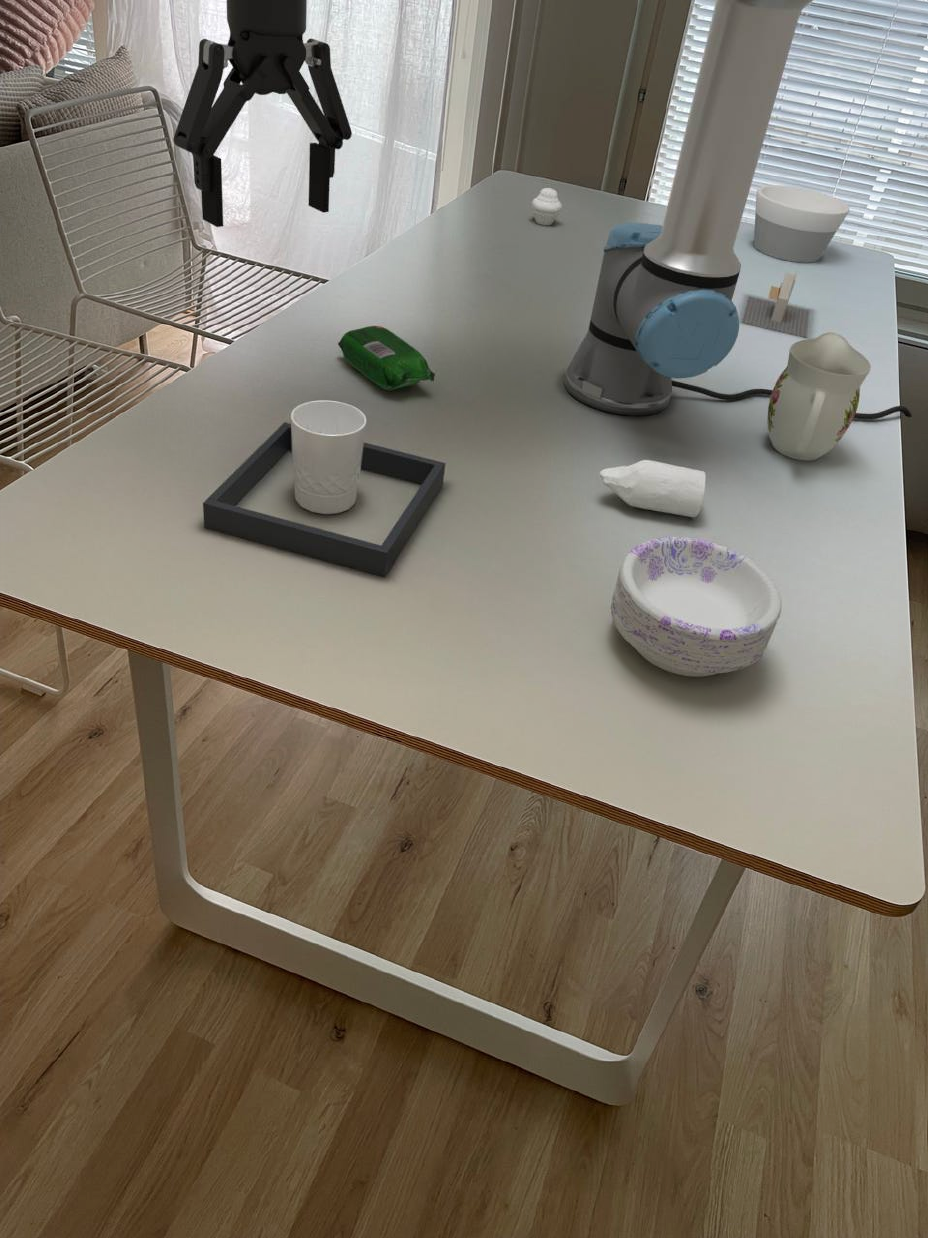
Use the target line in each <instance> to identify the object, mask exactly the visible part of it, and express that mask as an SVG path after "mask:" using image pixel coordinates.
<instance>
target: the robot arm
mask: <svg viewBox="0 0 928 1238" xmlns="http://www.w3.org/2000/svg"><path fill="white" fill-rule="evenodd" d="M307 1H308V0H226V21H227V22H226V23H227V25H228V28H229V29H228V30H229V37H228V41H227V44H225V43H218V42H215V41H214V40H213V41H212V40H209V39H207V38H202V39H201V40H200V41H199V44H198V64H197V68H196V71H195V73H194V77H193V79H192V81H191V82H192V83H191V86H190V88H189V91H188V94H187V97H186V100H185V103H184V106H183V109H182V112H181V115H180V117H179V121H178V123H177V126H176V130H175V132H174V135H173V139H172V140H173V143H174V145H175V147H178V148H180V149H182V150H184V151H186V152H189V153H191V155H192V159H193V161H192V162H193V163H192V164H193V181H194V185H195V188H196V189H198V190H200V191H201V192H200V193H201V212H202V213H201V214H202V220H203V221H205V222H207V223H208V224H210V225H212V226H214V227H216V228H221V227H222V228H223V227H224V206H223V204H224V203H223V201H224V200H223V174H222V173H223V170H222V169H223V168H222V158H220V157H219V156H217V155H215V153H216V152H217V149H218V148H219V147H220V145H221V143H222V142H223V141H224V139H225V137H226V135H227V134H228V132H229V130H230V129H231V128H232V126H233V124H234V122H235V121H236V119H237V118H238V116H239V114H240V112H241V111H242V109H243V108H244V106H245V105H246V103H247V102H249V101H251V100H252V99H253V98H254V96H255V94H257V95H259V96H267V95H270V94H272V93H275V94H278V95H286V94H287V96H288V98H289V99H290V100H291V102H292V104H293V105H294V106H295V108H296V110H297V112H298V113H299V114H300V116H301V117H302V119H303V121H304V122H305V124H306V125H307V127H308V128H309V130H310V131H311V133H312V134H313V136H314V138H315V140H316V141H317V142H318V143H317V142H309V158H308V159H309V161H308V162H309V165H308V207H311V208H312V209H315V210H317V211H319V212H321V213H323V214H324V213H329V212H330V182H331V178H334V176H335V170H336V167H335V166H336V165H335V164H336V150H340V149H342V147H343V146H344V145H343V144H344V140H345V141H349V140H350V139H351V137H352V133H353V132H352V128H351V126H350V125H351V124H350V122H349V119H348V116H347V112H346V109H345V107H344V104H343V100H342V98H341V97H342V96H341V95H340V92H339V88H338V85H337V81H336V79H335V76H334V72H333V70H332V62H331V59H332V58H331V48H330V45H329V43H326V42H324V41H320V40H317V39H314V38H308V40H306V42H304V39H303V38H304V37H303V36H304V34H305V33H306V31H307V12H308V11H307V5H308V4H307ZM812 2H814V0H715V2H714V3H715V4H714V6H713V7H714V8H713V12H712V16H711V21H710V25H709V28H708V32H707V37H706V42H705V44H704V45H705V46H704V49H703V50H704V51H703V54H702V58H701V63H700V67H699V71H698V75H697V80H696V84H695V88H694V93H693V97H692V101H691V105H690V109H689V113H688V118H687V121H686V125H685V131H684V134H683V139H682V143H681V147H680V151H679V155H678V159H677V164H676V168H675V173H674V175H673V181H672V185H671V188H670V193H669V196H668V197H669V198H668V202H667V205H666V211H665V216H664V220H663V223H662V225H661V224H654V223H647V222H646V223H645V222H643V223H642V222H622V223H618V224H616V225H614V226H613V227H612V228H611V230H610V231H609V234H608V237H607V241H606V244H605V246H604V247H603V258H602V262H601V267H600V272H599V275H598V276H599V278H598V280H597V281H598V282H597V287H596V292H595V295H594V299H593V300H594V301H593V306H592V311H591V315H590V321H589V325H588V330H587V332H586V335H585V336H584V338H583V339H582V341H581V343H580V345H579V347H578V349H577V351H576V352H575V353H574V355H573V357H572V359H571V361H570V363H569V364H568V366H567V368H566V372H565V376H564V377H565V378H564V387H565V389H566V390H567V392H568V393H569V394H570V395H571V396H572V397H573V398H575V399H576V400H578V401H579V402H581V403H583V404H585V405H587V406H589V407H592V408H595V409H597V410H600V411H604V412H607V413H612V414H616V415H624V416H647V415H653V414H657V413H659V412H661V411H663V410H665V409H666V408H667V407H668V405H669V403H670V399H671V396H672V393H673V387H674V388H678V389H683V390H687V391H690V392H695V393H698V394H702V395H705V396H708V397H711V398H713V399H718V400H723V401H736V400H737V401H738V400H741V399H744V398H747V397H751V396H755V395H764V396H770V397H771V394H772V391H773V389H767V388H751V389H747V390H744V391H741V392H737V393H730V394H729V393H720V392H716V391H713V390H710V389H707V388H705V387H701V386H697V385H694V384H689V383H686V382H681V381H677V380H673V379H689V378H694V377H697V376H700V375H702V374H705V373H706V372H708V370H710V369H712V368H713V367H716V366H718V365H719V364H720V363H721V362H722V361H724V359H725V358H726V357H727V356H728V355H729V354H730V352H731V351H732V349H733V348H734V345H735V344H736V342H737V339H738V336H739V332H740V318H739V314H738V313H739V312H738V310H737V307H736V306H735V303H734V302H733V297H734V294H735V291H736V288H737V283H738V280H739V278H740V273H741V269H742V263H741V261H740V260H739V258H738V256H737V255H736V253H735V251H734V246H735V243H736V239H737V236H738V233H739V229H740V226H741V222H742V218H743V215H744V211H745V208H746V204H747V201H748V197H749V194H750V190H751V186H752V183H753V179H754V177H755V172H756V169H757V167H758V164H759V163H758V162H759V159H760V155H761V152H762V148H763V145H764V141H765V137H766V134H767V131H768V127H769V123H770V120H771V117H772V113H773V109H774V107H775V103H776V99H777V96H778V92H779V89H780V85H781V81H782V78H783V74H784V71H785V67H786V65H787V60H788V57H789V53H790V50H791V48H792V47H791V46H792V44H793V39H794V36H795V33H796V29H797V26H798V23H799V18H800V15H801V13H802V12H803V10H804V9H805V8H806V7H807V6H809V4H811V3H812ZM229 63H230V65H231V67H232V68H231V70H230V71H229V73H228V75H227V76H226V77H225V79H224V80H223V84H222V85H223V88H222V90H221V92H220V93H219V95H218V97H217V94H218V90H219V88H220V85H221V82H222V78H223V74H224V69H226V68H228V67H229ZM304 63H305V64H306V65H307V68H308V72H309V75H310V78H311V81H312V84H313V87H314V90H315V93H316V96H317V99H318V102H319V104H318V103H317V101H316V99H315V98H314V96H313V95H312V93H311V92H310V86H309V85H308V83H307V81H306V79H305V78H304V76H303V75H302V73H301V71H300V70H301V69H302V67H303V65H304ZM216 97H217V98H216ZM215 99H216V100H215ZM319 105H320V106H319ZM320 107H321V108H320ZM898 412H901V413H903V415H904V416H905V417H906V418H912V417H913V415H912V412H911V411H910V409H908V408H907V407H906V406H903V405H896V406H893V407H890V408H888V409H885V410H882V411H879V412H874V413H864V412H863V413H862V412H861V413H860V412H859V413H858V412H856V414H855V416H854V418H853V420H854V419H855V420H878V419H882V418H884V417H887V416H890V415H892V414H895V413H898Z"/></svg>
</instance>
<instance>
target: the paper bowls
mask: <svg viewBox="0 0 928 1238" xmlns="http://www.w3.org/2000/svg"><path fill="white" fill-rule="evenodd" d="M614 585H615V586H614V589H613V593H612V597H611V602H610V615H611V618H612V621H613V624H614V626H615V627H616V629H617V631H618V632H619V633H620V635H621V636H622V638H623V639H624V640H625V641H626V642H627V643H628V644H630V645H631V646H632V647H633V648H634V649H635V650H636V651H637V652H638V653H639V654H640V655H641V657H643V658H644V659H645V660H646V661H648V662H649V663H650V664H652V665H653V666H656V667H657V668H659V669H661V670H664V671H666V672H668V673H671V674H675V675H680V676H684V677H693V678H694V677H695V678H698V677H699V678H701V677H709V676H714V675H716V674H723V673H726V674H727V673H729V672H735V671H740V670H744V669H745V668H747V667H749V666H751V665H753V664H755V663H756V662H758V660H760V658H762V656H763V655H764V653H765V651H766V649H767V647H768V645H769V642H770V640H771V637H772V635H773V634H774V631H775V628H776V626H777V624H778V620H779V619H780V617H781V615H782V614H781V613H782V604H783V603H782V598H781V593H780V591H779V589H778V587H777V585H776V583H775V581H774V580H773V579H772V578H771V576H770V575H769V574H768V572H766V571H765V570H764V569H763V568H762V567H761V566H760V565H758V564H757V563H756V562H755V561H753V560H751V559H750V558H748V557H747V556H746V555H743V554H742V553H739V552H738V551H736V550H734V549H732V548H729V547H727V546H724V545H722V544H718V543H715V542H713V541H709V540H705V539H699V538H693V537H687V536H685V537H684V536H668V537H667V536H666V537H665V536H664V537H658V538H653V539H650V540H647V541H646V540H645V541H644V542H642V543H640V544H638V545H636V546H635V547H633V548H632V549H630V550H629V551H628V553H627V554H625V556H624V557H623V559H622V561H621V563H620V567H619V570H618V574H617V579H616V582H615V584H614Z"/></svg>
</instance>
